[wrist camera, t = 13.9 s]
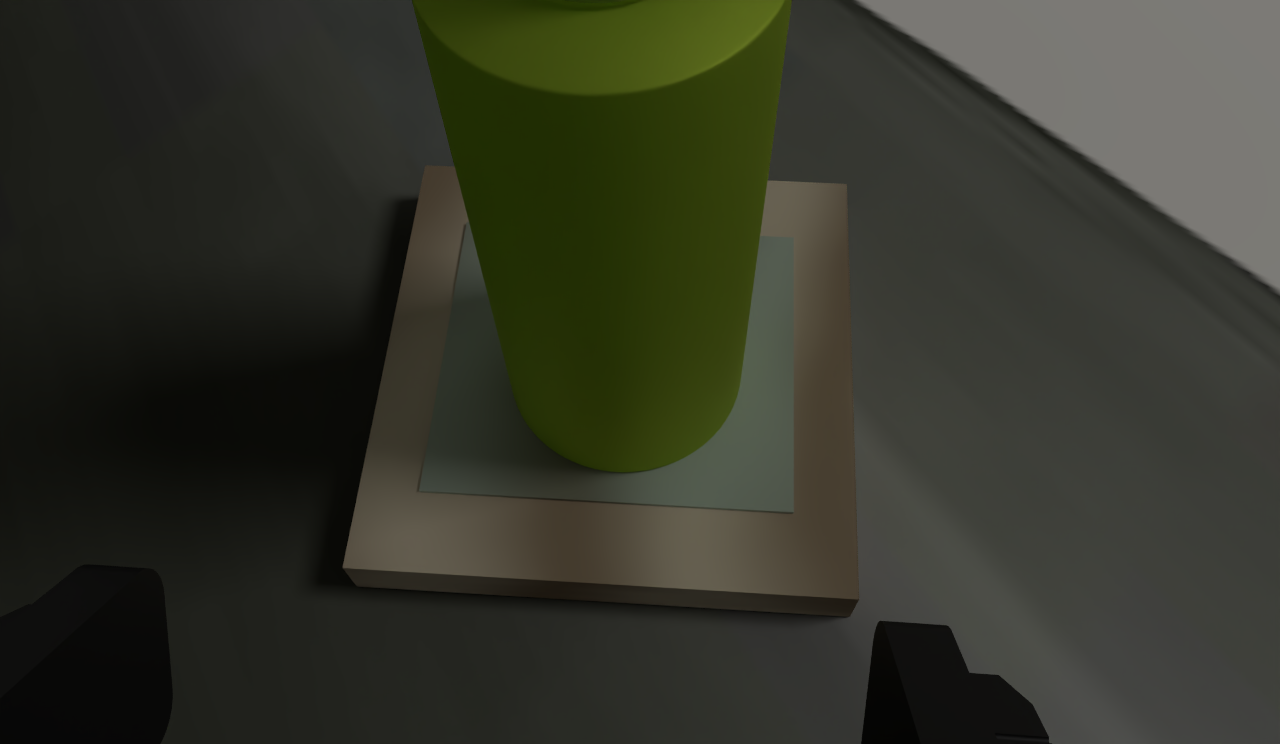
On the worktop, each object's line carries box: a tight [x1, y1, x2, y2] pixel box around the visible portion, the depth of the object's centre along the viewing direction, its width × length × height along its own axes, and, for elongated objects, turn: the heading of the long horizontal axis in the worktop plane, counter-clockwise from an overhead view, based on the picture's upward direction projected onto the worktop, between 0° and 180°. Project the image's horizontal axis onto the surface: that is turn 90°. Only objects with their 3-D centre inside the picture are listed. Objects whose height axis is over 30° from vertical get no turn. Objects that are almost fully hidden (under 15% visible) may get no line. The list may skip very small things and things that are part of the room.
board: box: [343, 165, 859, 617], centre depth 29 cm, size 12×12×2 cm
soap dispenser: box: [412, 0, 792, 472], centre depth 19 cm, size 6×7×20 cm
